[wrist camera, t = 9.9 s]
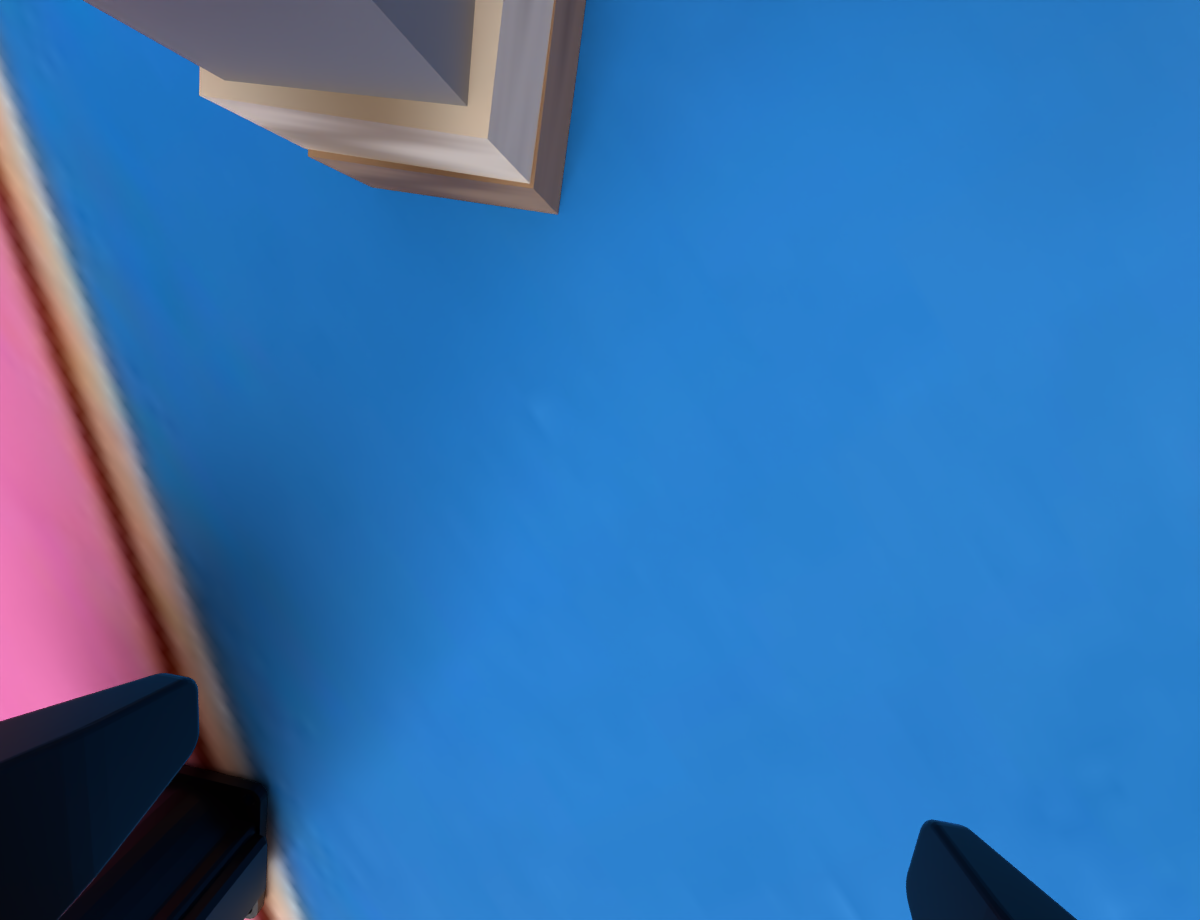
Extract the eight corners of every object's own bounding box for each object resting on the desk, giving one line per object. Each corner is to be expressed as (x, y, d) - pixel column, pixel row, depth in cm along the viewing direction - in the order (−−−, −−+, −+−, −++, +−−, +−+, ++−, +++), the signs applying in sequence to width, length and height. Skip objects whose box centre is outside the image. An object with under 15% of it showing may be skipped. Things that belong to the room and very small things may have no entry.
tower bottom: (374, 188, 19) (308, 156, 15) (388, -30, 17) (318, -118, 14) (559, 215, 18) (533, 188, 15) (588, -7, 17) (567, -93, 13)
